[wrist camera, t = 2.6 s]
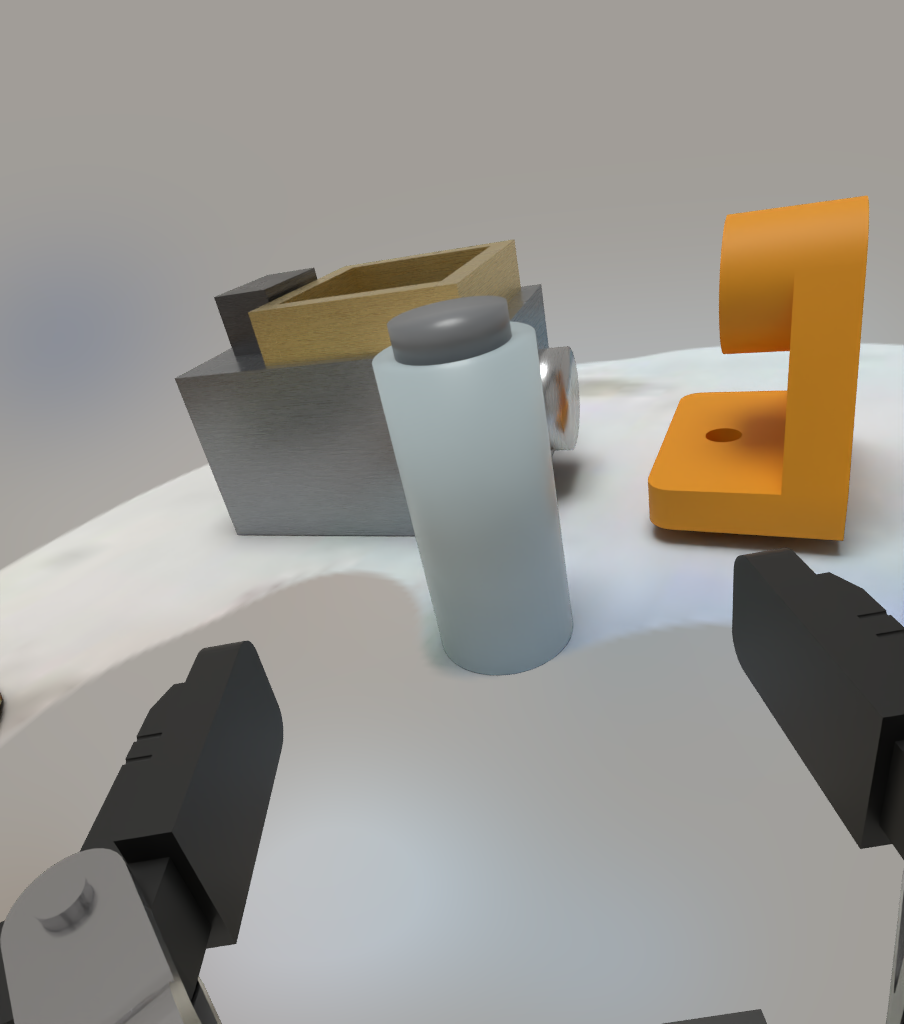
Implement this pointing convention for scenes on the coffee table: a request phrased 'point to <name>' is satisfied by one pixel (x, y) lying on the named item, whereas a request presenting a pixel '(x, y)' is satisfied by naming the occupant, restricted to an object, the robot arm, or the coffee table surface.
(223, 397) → the grey block with frame
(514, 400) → the bottle
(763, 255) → the bracket
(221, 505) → the coffee table surface
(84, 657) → the coffee table surface
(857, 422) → the coffee table surface
